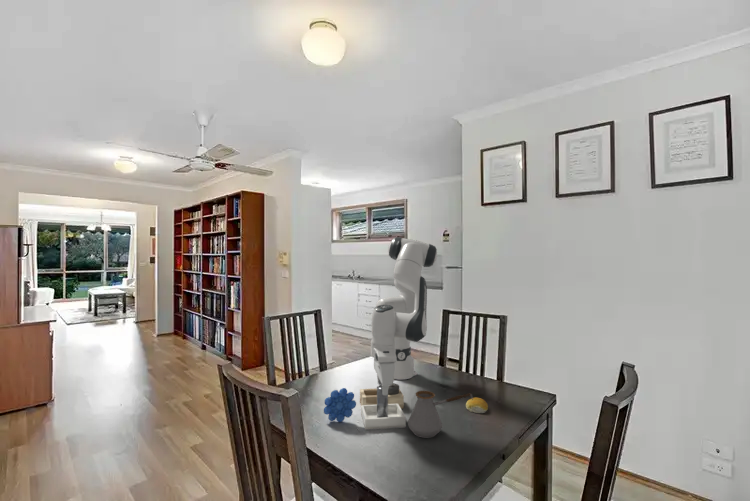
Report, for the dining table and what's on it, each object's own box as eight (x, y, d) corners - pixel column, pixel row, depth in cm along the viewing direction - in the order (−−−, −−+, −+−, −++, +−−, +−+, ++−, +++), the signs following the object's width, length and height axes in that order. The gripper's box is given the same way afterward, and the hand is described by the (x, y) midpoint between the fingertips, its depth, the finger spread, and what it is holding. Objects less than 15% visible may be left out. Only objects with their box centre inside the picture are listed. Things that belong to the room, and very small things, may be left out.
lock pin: (376, 416, 135) (376, 385, 135) (386, 415, 135) (386, 385, 136) (377, 421, 131) (377, 389, 131) (389, 420, 131) (389, 389, 132)
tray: (360, 414, 138) (361, 405, 138) (397, 412, 140) (398, 403, 140) (365, 429, 126) (365, 419, 126) (405, 427, 128) (405, 417, 128)
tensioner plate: (359, 401, 150) (359, 381, 150) (398, 399, 153) (398, 379, 153) (362, 410, 141) (362, 389, 141) (403, 408, 144) (403, 387, 144)
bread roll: (487, 406, 148) (488, 396, 148) (487, 415, 139) (487, 404, 140) (466, 403, 151) (466, 393, 151) (464, 412, 142) (464, 401, 142)
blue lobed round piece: (357, 417, 135) (357, 384, 136) (355, 425, 129) (355, 391, 129) (325, 416, 136) (326, 383, 136) (321, 424, 130) (322, 389, 130)
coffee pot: (404, 437, 121) (404, 391, 121) (411, 422, 132) (412, 380, 132) (471, 448, 114) (472, 399, 115) (473, 432, 125) (474, 387, 126)
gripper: (370, 344, 143) (369, 380, 143) (379, 359, 123) (378, 401, 123) (386, 343, 144) (385, 379, 144) (397, 358, 124) (397, 400, 124)
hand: (382, 389), depth 133 cm, fingers open, 8 cm apart
